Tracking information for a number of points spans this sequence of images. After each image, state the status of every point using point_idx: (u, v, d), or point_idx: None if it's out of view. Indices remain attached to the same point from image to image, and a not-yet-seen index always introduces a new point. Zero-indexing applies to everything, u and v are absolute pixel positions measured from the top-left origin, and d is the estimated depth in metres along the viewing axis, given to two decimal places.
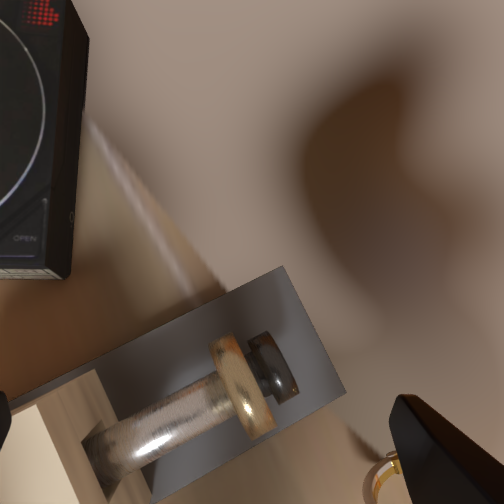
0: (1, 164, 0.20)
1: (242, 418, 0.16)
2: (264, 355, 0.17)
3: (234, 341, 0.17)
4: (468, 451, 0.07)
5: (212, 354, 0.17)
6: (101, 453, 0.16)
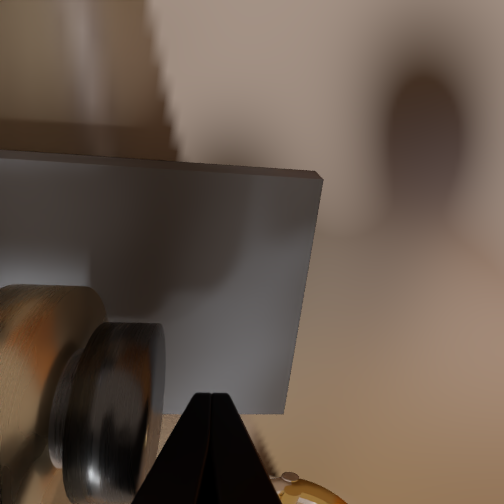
0: None
1: None
2: (88, 433, 0.06)
3: (18, 367, 0.06)
4: (235, 453, 0.06)
5: None
6: None
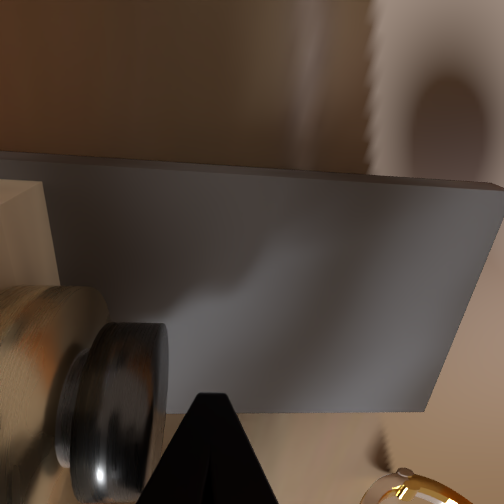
0: None
1: None
2: (95, 432, 0.06)
3: (27, 368, 0.06)
4: (232, 453, 0.06)
5: None
6: None
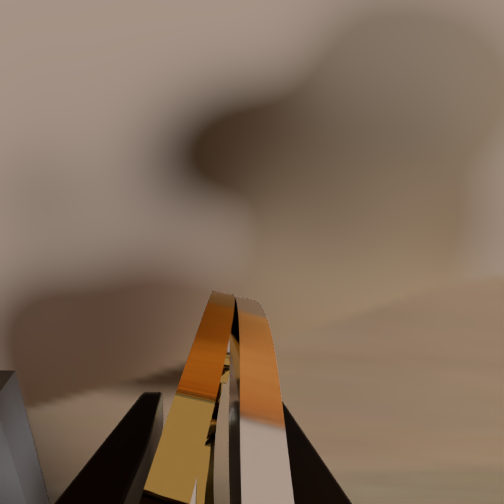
0: None
1: None
2: None
3: None
4: (295, 452, 0.06)
5: None
6: None
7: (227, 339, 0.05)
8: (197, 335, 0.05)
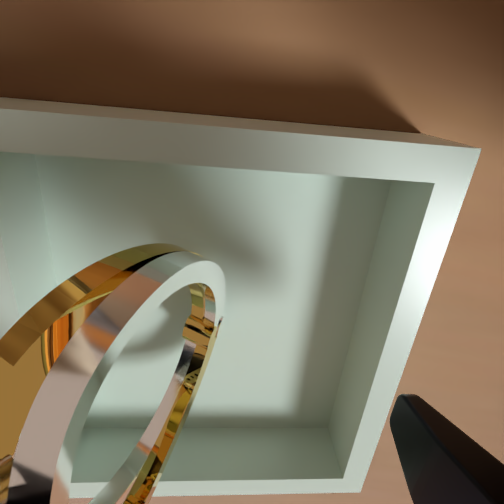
0: None
1: None
2: None
3: None
4: (469, 451, 0.07)
5: None
6: None
7: (138, 261, 0.06)
8: (119, 252, 0.06)
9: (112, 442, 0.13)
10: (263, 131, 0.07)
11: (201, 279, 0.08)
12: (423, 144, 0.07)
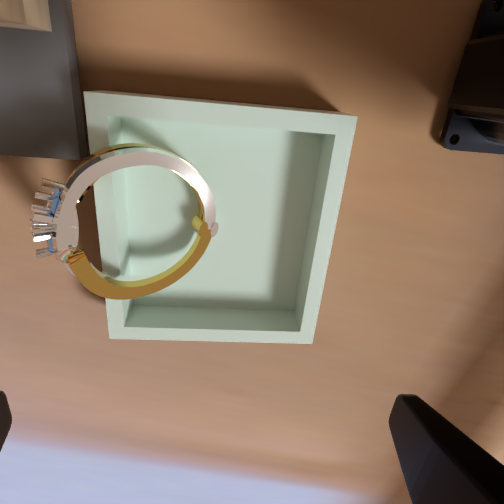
0: None
1: None
2: None
3: None
4: (468, 451, 0.07)
5: None
6: None
7: (145, 146, 0.15)
8: (142, 144, 0.15)
9: (154, 312, 0.20)
10: (245, 106, 0.14)
11: (182, 173, 0.15)
12: (327, 113, 0.15)
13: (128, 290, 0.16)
